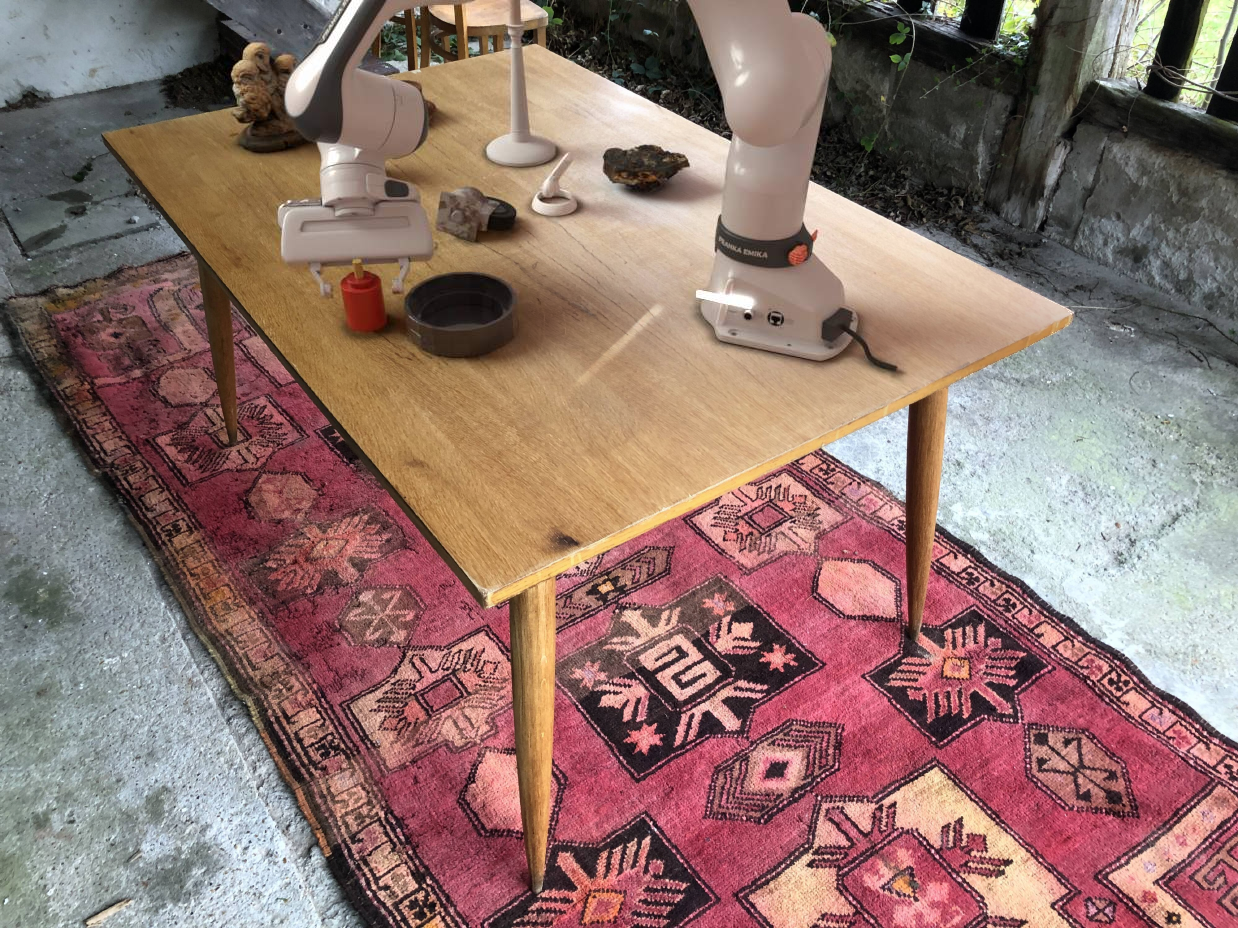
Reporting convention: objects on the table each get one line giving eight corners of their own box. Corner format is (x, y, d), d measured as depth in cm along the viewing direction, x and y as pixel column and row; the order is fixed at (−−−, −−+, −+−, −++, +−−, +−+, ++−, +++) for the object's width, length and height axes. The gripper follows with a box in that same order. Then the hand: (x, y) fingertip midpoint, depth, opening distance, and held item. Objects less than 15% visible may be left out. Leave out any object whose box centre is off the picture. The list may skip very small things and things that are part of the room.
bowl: (539, 321, 139) (538, 290, 135) (475, 374, 129) (472, 343, 125) (453, 291, 144) (450, 261, 141) (385, 340, 134) (380, 309, 131)
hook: (592, 196, 157) (556, 170, 155) (556, 237, 166) (522, 214, 164) (604, 168, 162) (570, 142, 159) (569, 210, 171) (536, 186, 168)
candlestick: (553, 168, 177) (548, -10, 157) (482, 165, 177) (469, -12, 157) (557, 139, 187) (554, -31, 167) (491, 137, 187) (479, -34, 167)
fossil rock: (625, 208, 165) (626, 175, 162) (592, 176, 175) (592, 144, 171) (696, 195, 170) (699, 163, 166) (660, 164, 179) (662, 133, 176)
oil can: (395, 322, 138) (386, 257, 131) (370, 340, 134) (358, 275, 127) (366, 311, 140) (355, 247, 133) (340, 329, 136) (327, 264, 129)
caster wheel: (517, 232, 164) (500, 252, 155) (453, 211, 164) (433, 230, 155) (525, 194, 160) (509, 213, 152) (459, 173, 160) (440, 190, 152)
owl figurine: (264, 161, 176) (243, 64, 165) (220, 145, 181) (196, 50, 170) (337, 129, 188) (321, 36, 177) (293, 115, 193) (275, 24, 181)
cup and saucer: (446, 110, 196) (443, 79, 192) (423, 133, 187) (419, 101, 183) (390, 104, 198) (386, 73, 194) (364, 126, 189) (360, 94, 185)
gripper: (271, 192, 129) (278, 295, 128) (427, 184, 132) (436, 285, 131) (281, 208, 135) (288, 306, 135) (430, 200, 138) (439, 296, 137)
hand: (363, 295), depth 133 cm, fingers open, 8 cm apart
